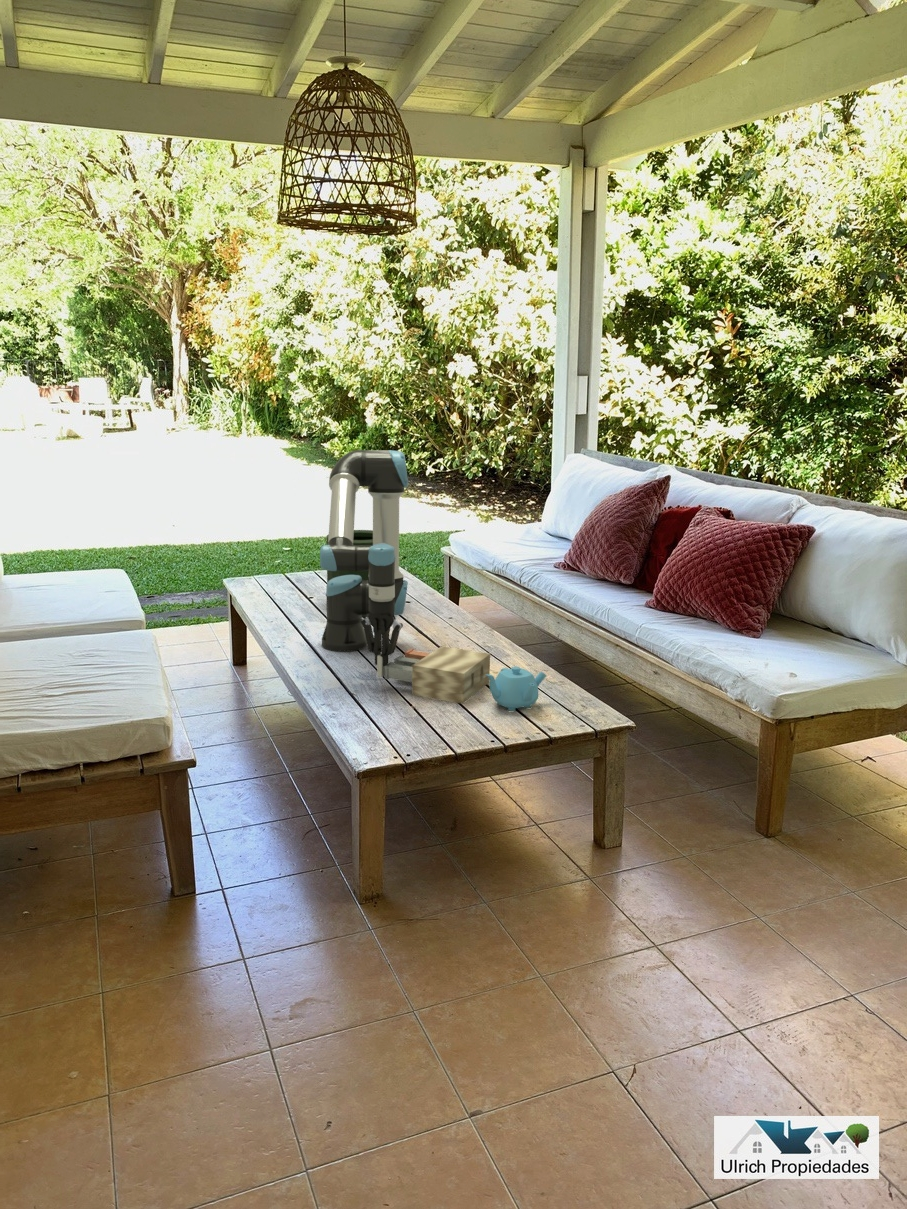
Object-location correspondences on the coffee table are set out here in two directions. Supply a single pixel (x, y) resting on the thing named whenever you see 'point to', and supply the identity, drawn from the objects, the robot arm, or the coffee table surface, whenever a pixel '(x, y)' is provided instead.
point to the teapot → (515, 687)
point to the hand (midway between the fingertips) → (381, 675)
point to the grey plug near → (398, 672)
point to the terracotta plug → (415, 654)
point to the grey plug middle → (405, 661)
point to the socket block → (450, 674)
